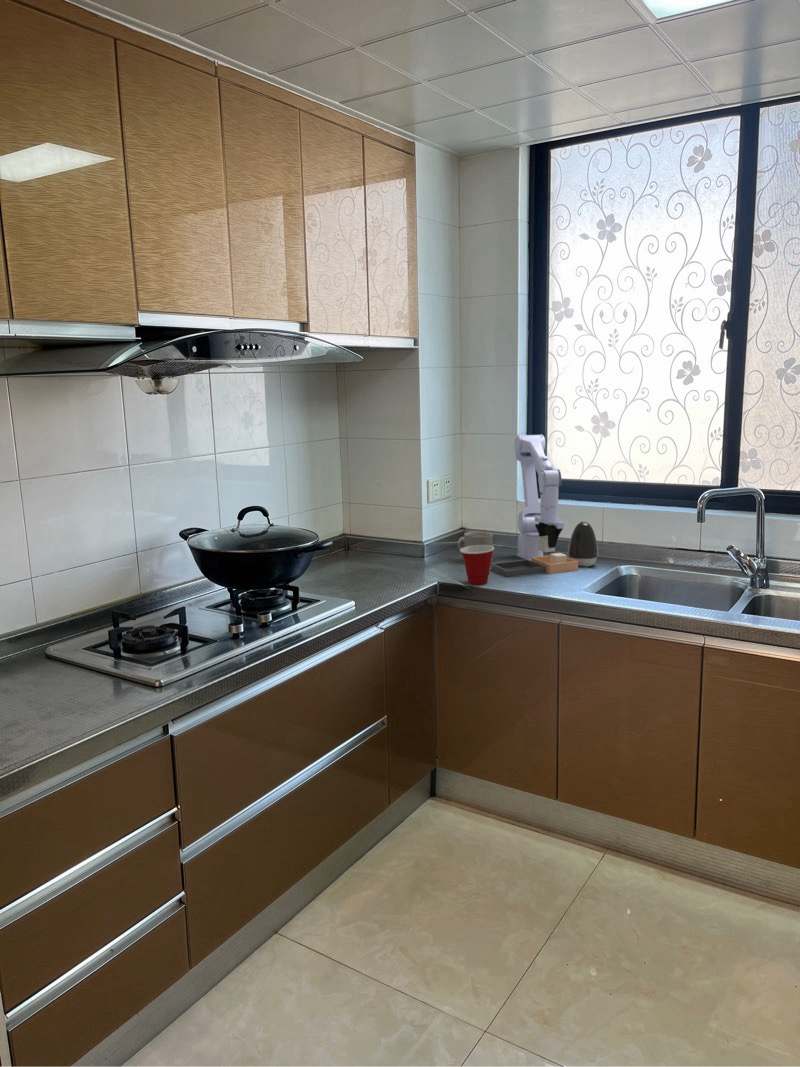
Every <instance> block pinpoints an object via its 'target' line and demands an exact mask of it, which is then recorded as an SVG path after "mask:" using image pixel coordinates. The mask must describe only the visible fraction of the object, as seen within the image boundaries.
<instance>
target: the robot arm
mask: <svg viewBox="0 0 800 1067" xmlns="http://www.w3.org/2000/svg"><path fill="white" fill-rule="evenodd" d="M545 450H546V438H545V436H544V435H543V434H541V433H540V434H525V435H523V434H522V435H520V434H518V435H516V436H515V439H514V454H515V460H517V461H518V462H519V463H520V467H521V468H520V469H521V477H522V485H523V497H524V507H523V508H522V509H521V510H520V511H519V513H518V515H517V516H518V517H517V518H518V520H517V527H518V528H517V529H518V532H519V533H520V534H519V535H518V538H517V554H515V556H517V557H519V558H522V559H523V560H526V559H528V560H530V561H531V558H532V557H541V556H544V552H543V551H540V550H538V537H541V536H548V545H549V548H555V549H556V547H557V542H558V539H559V536H560V535H561V533H562V531H563V529H564V527H565V526H564V523H565V522H563V521H561V520H560V519H559V518H558V517H559V513H558V512H559V488H560V486H562V472H561V470H560V468H555V466H554V464H553V462H552V460H551V458H550V457H548V456H546V454H545ZM536 473H537V474H536ZM537 475H538V478H537ZM537 479H538V484H537ZM538 485H539V486H538ZM538 487H539V489H538ZM538 490H539V493H540V502H539V493H538ZM539 503H540V505H539Z"/></svg>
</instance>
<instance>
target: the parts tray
mask: <svg viewBox="0 0 800 1067" xmlns="http://www.w3.org/2000/svg"><path fill="white" fill-rule="evenodd" d="M490 570H491V571H493V572H495V573H497V574H499V575H502V576H504V577H507V578H512V577H520V576H527V575H528V576H529V575H537V574H542V573H543V574H545V573H546V572H545V566H543V565H540V564H538V563H535V562H533V561H531V560H528V559H520V560H519V559H518V560H511V561H504V562H494V563H491V565H490Z"/></svg>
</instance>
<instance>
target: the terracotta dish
mask: <svg viewBox="0 0 800 1067" xmlns="http://www.w3.org/2000/svg"><path fill="white" fill-rule="evenodd" d="M530 561H533V562H535V563H538V564H540V565H543V566H545V573H547V574H551V575H552V574H558V573H566V572H567V573H568V572H573V571H579V566H578V561H577V560H574V559H571V558H569V556H567V562H563V563H556V564H550V554H549V555H543V556H541V557H532V558H531V560H530Z"/></svg>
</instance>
